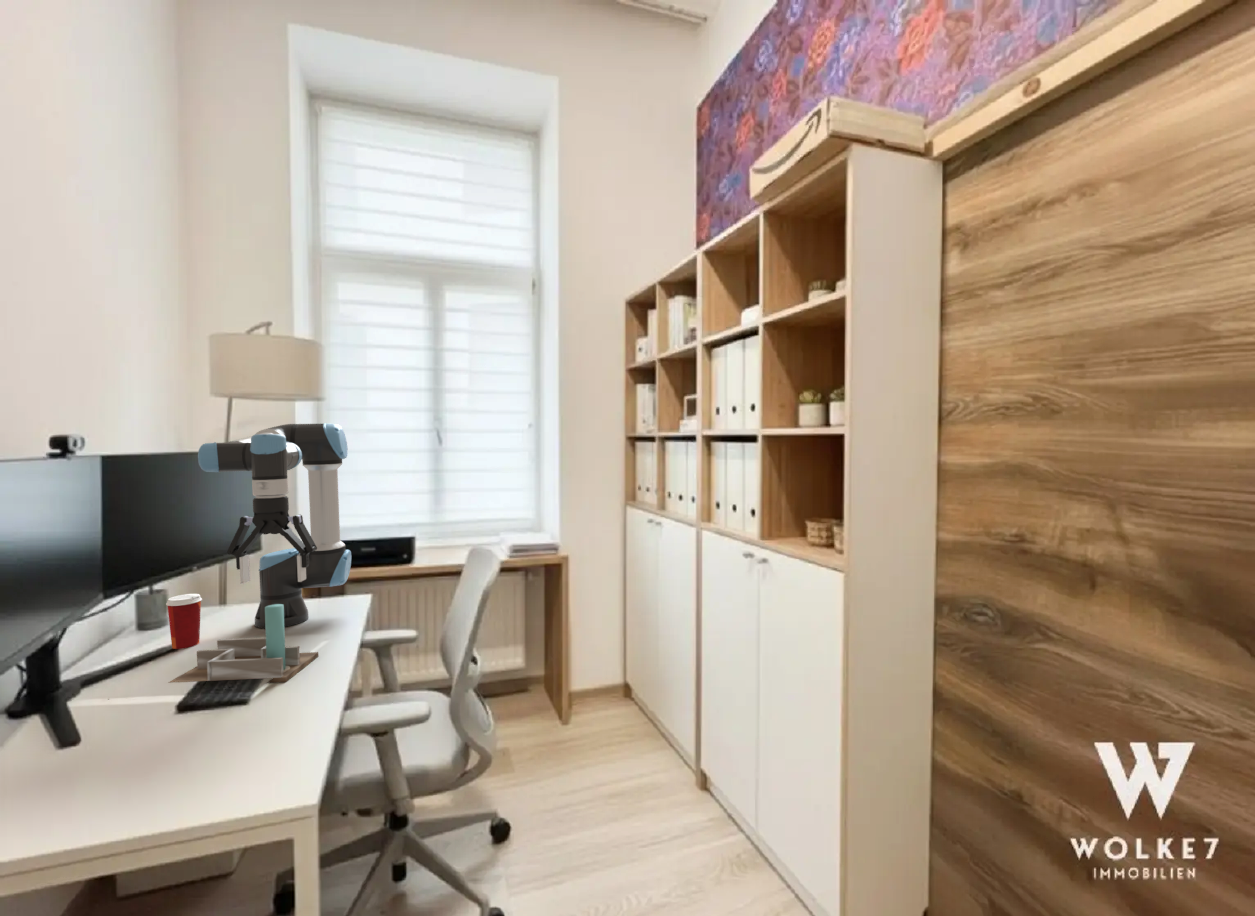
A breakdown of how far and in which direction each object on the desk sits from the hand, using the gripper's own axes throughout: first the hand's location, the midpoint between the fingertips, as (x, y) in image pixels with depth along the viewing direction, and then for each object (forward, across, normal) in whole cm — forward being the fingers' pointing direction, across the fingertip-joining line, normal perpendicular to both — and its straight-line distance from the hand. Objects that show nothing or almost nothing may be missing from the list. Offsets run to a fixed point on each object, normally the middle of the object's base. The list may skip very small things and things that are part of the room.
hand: (273, 581), depth 144 cm
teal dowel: (+22, 0, -1) cm, 22 cm away
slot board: (+24, -9, +3) cm, 25 cm away
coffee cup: (+24, -37, +22) cm, 49 cm away
